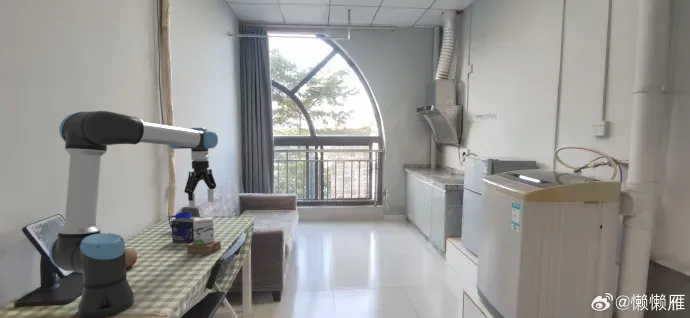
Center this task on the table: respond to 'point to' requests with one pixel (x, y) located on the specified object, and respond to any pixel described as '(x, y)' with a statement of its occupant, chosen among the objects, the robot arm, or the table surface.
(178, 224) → the box
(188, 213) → the mug
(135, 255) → the fruit
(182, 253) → the table surface
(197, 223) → the ink box
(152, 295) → the table surface
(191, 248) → the walnut block
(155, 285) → the table surface
